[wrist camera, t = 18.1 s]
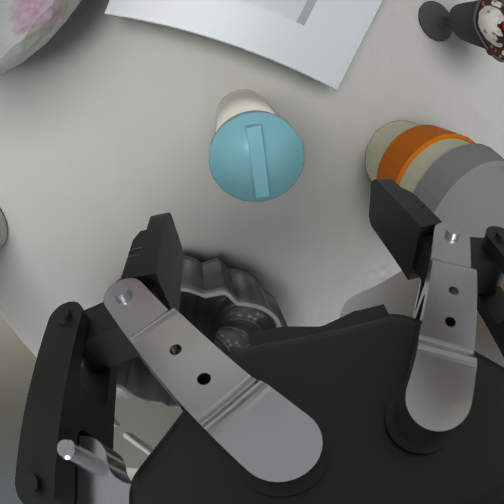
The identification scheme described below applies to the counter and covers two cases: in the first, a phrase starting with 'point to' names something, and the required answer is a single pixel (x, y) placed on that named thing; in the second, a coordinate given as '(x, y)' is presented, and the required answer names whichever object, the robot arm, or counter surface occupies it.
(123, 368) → the bundt pan
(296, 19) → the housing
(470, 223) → the reusable coffee cup
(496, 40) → the sundae
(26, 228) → the counter surface
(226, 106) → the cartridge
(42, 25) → the ceramic pitcher
